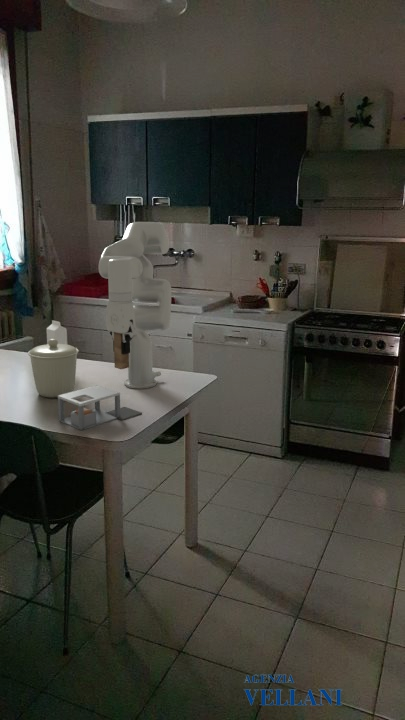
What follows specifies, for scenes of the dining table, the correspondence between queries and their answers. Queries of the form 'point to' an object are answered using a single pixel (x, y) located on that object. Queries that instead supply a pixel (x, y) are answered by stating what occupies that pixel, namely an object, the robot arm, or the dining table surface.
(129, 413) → the pad
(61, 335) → the milk
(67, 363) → the canister
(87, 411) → the breaker button
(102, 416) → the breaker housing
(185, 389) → the dining table surface
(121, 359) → the brown wooden bar
